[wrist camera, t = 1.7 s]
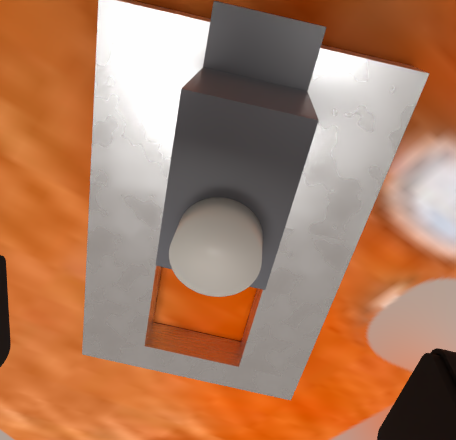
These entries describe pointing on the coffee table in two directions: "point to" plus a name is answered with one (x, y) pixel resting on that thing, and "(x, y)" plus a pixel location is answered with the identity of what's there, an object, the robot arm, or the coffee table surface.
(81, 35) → the coffee table surface
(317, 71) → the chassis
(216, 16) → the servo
